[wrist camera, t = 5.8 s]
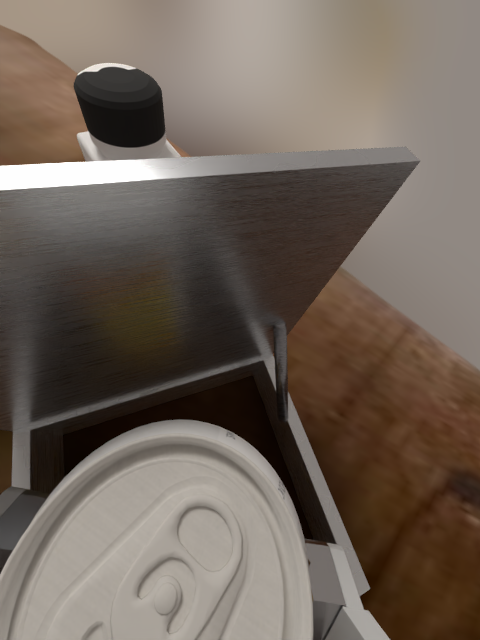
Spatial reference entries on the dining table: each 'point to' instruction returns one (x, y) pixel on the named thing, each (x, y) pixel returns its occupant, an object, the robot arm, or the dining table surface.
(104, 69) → the medicine bottle
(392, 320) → the dining table surface
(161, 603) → the beer can
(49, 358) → the case
